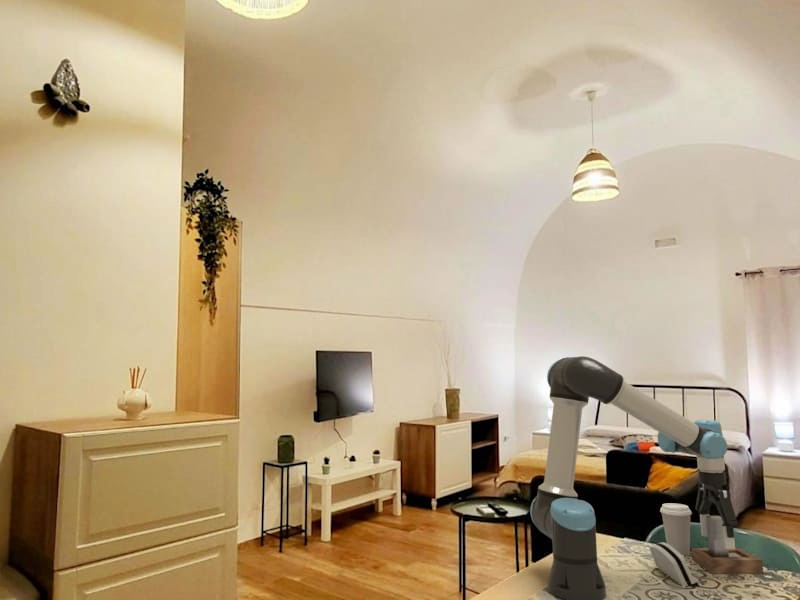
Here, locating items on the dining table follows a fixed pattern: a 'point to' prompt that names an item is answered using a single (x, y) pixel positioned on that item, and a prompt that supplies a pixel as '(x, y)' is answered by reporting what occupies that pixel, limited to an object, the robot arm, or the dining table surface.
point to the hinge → (672, 564)
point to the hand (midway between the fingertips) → (717, 542)
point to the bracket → (716, 538)
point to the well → (728, 562)
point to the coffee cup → (677, 526)
